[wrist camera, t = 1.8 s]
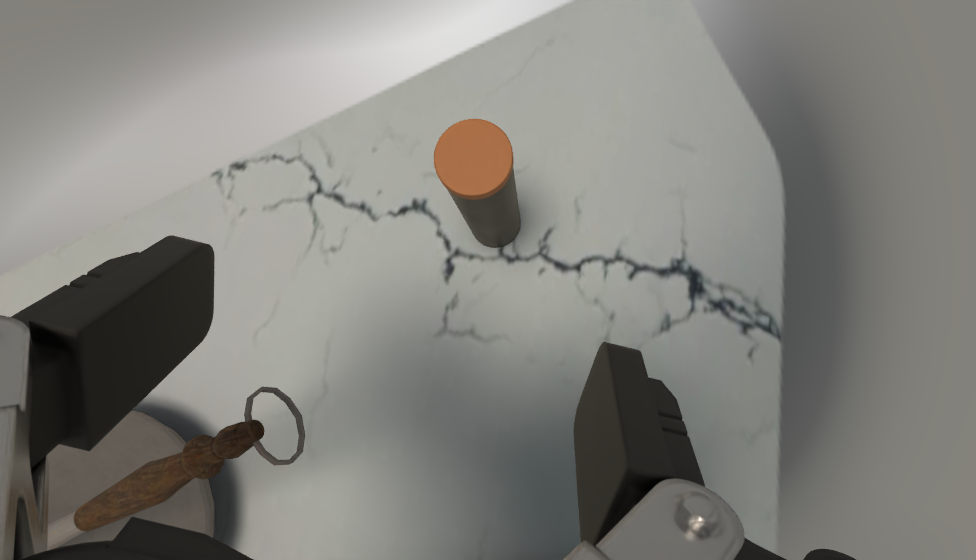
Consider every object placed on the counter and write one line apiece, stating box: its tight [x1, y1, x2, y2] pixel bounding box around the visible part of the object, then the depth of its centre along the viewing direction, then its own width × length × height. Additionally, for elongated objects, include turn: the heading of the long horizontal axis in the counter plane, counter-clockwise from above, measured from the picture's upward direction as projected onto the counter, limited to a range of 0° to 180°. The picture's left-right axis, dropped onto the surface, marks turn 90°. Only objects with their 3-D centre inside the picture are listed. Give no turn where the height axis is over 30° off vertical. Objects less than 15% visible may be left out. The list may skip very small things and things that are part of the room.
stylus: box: [434, 119, 520, 248], centre depth 25 cm, size 3×3×11 cm
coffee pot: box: [47, 387, 305, 551], centre depth 23 cm, size 21×12×15 cm, turn 115°
